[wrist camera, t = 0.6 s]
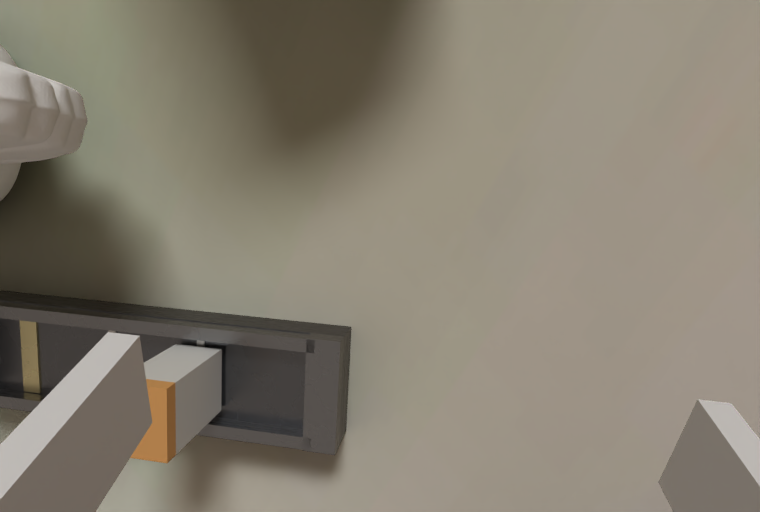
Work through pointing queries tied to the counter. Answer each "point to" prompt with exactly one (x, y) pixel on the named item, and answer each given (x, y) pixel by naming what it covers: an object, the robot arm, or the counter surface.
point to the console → (196, 328)
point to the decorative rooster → (35, 119)
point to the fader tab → (180, 398)
